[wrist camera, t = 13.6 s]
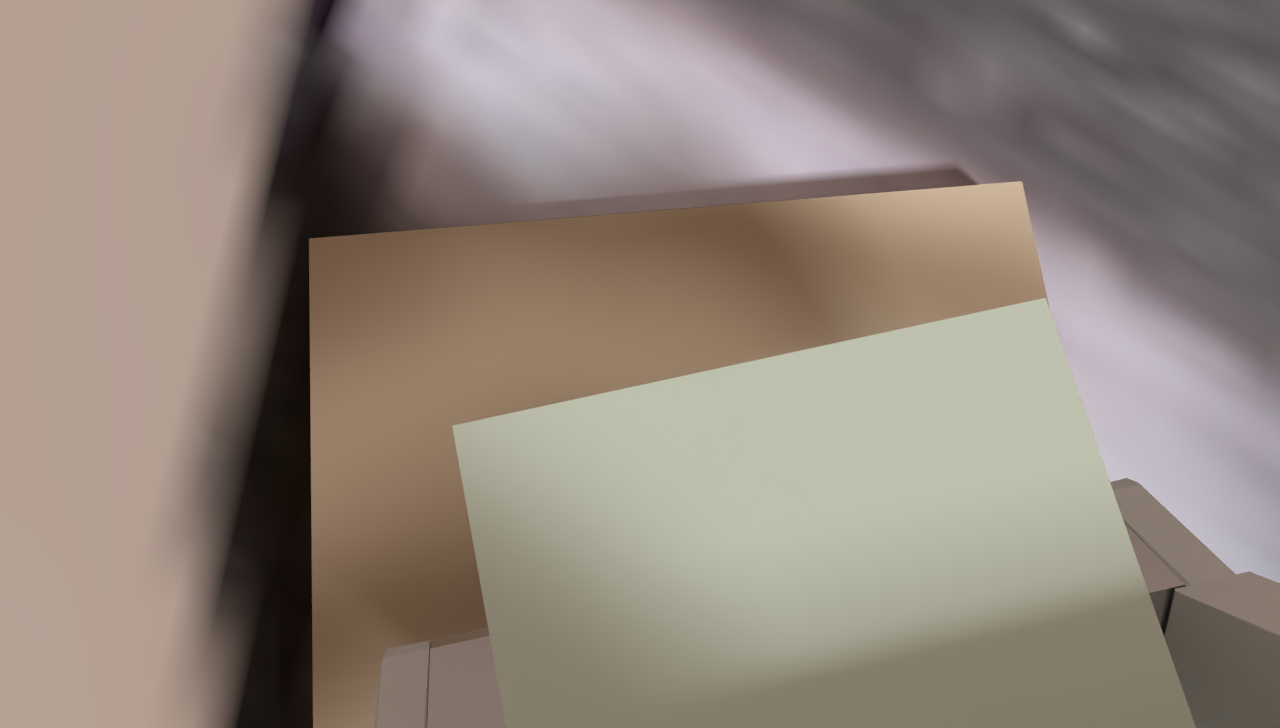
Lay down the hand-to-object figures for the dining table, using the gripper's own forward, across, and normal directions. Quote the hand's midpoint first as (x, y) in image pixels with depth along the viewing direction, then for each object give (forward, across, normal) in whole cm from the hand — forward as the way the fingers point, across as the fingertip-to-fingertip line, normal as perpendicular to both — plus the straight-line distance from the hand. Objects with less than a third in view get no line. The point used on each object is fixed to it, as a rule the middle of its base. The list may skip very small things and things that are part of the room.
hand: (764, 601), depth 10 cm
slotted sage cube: (+3, 0, +4) cm, 4 cm away
